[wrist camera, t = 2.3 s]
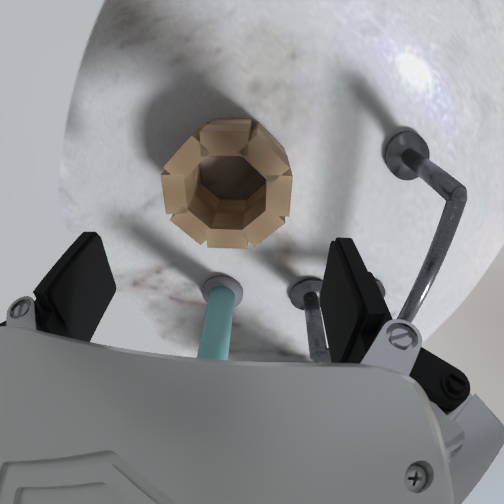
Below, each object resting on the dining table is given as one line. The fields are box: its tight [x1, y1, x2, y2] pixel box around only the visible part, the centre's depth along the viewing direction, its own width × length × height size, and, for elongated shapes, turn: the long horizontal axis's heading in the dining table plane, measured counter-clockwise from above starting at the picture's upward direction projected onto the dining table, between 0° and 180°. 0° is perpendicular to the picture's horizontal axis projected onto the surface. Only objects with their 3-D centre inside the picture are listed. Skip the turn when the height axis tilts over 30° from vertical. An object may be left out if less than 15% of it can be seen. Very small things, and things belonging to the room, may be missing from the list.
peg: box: [197, 276, 243, 360], centre depth 19 cm, size 3×3×9 cm
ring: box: [161, 119, 293, 249], centre depth 15 cm, size 6×6×4 cm
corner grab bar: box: [290, 132, 467, 363], centre depth 16 cm, size 15×8×6 cm, turn 179°
